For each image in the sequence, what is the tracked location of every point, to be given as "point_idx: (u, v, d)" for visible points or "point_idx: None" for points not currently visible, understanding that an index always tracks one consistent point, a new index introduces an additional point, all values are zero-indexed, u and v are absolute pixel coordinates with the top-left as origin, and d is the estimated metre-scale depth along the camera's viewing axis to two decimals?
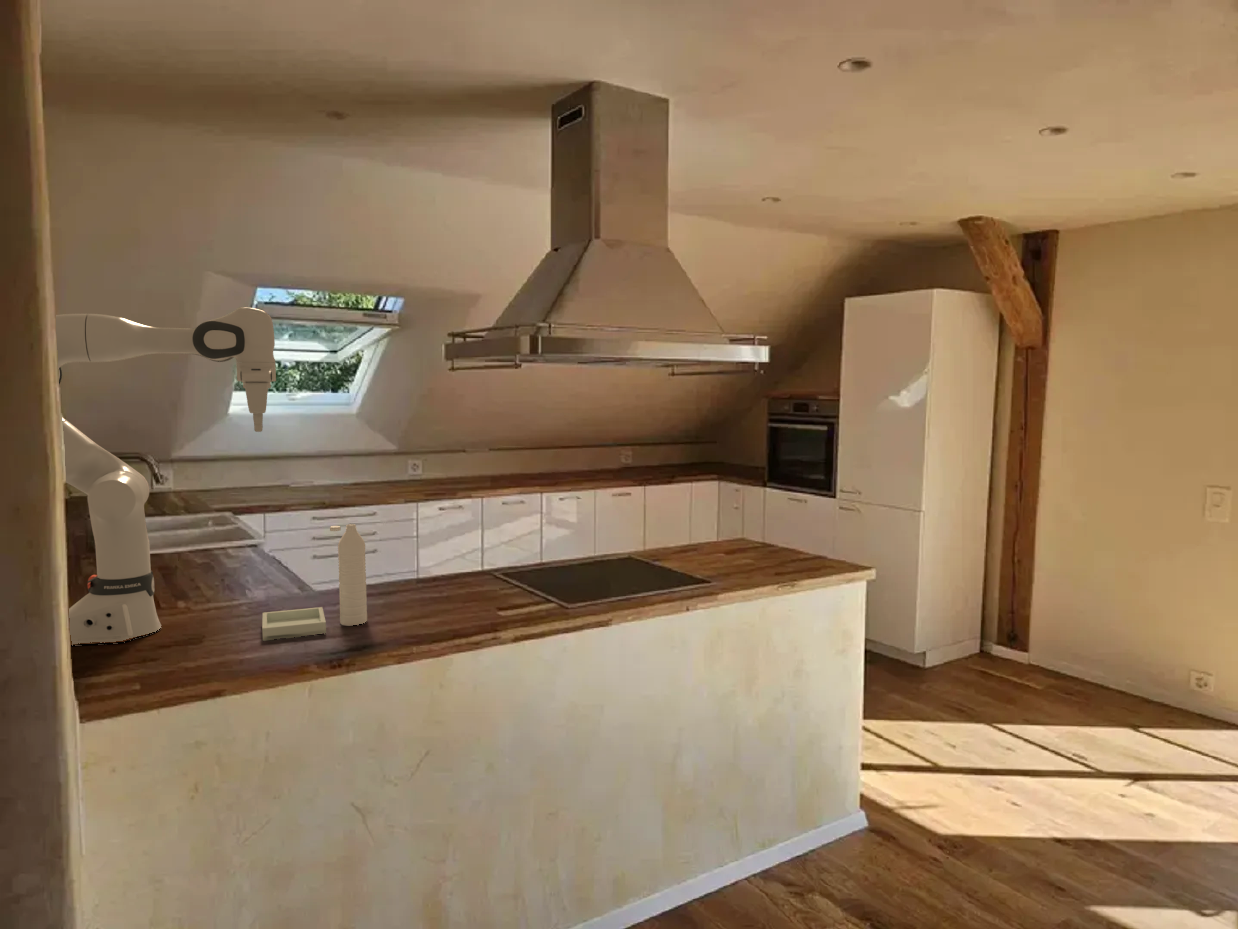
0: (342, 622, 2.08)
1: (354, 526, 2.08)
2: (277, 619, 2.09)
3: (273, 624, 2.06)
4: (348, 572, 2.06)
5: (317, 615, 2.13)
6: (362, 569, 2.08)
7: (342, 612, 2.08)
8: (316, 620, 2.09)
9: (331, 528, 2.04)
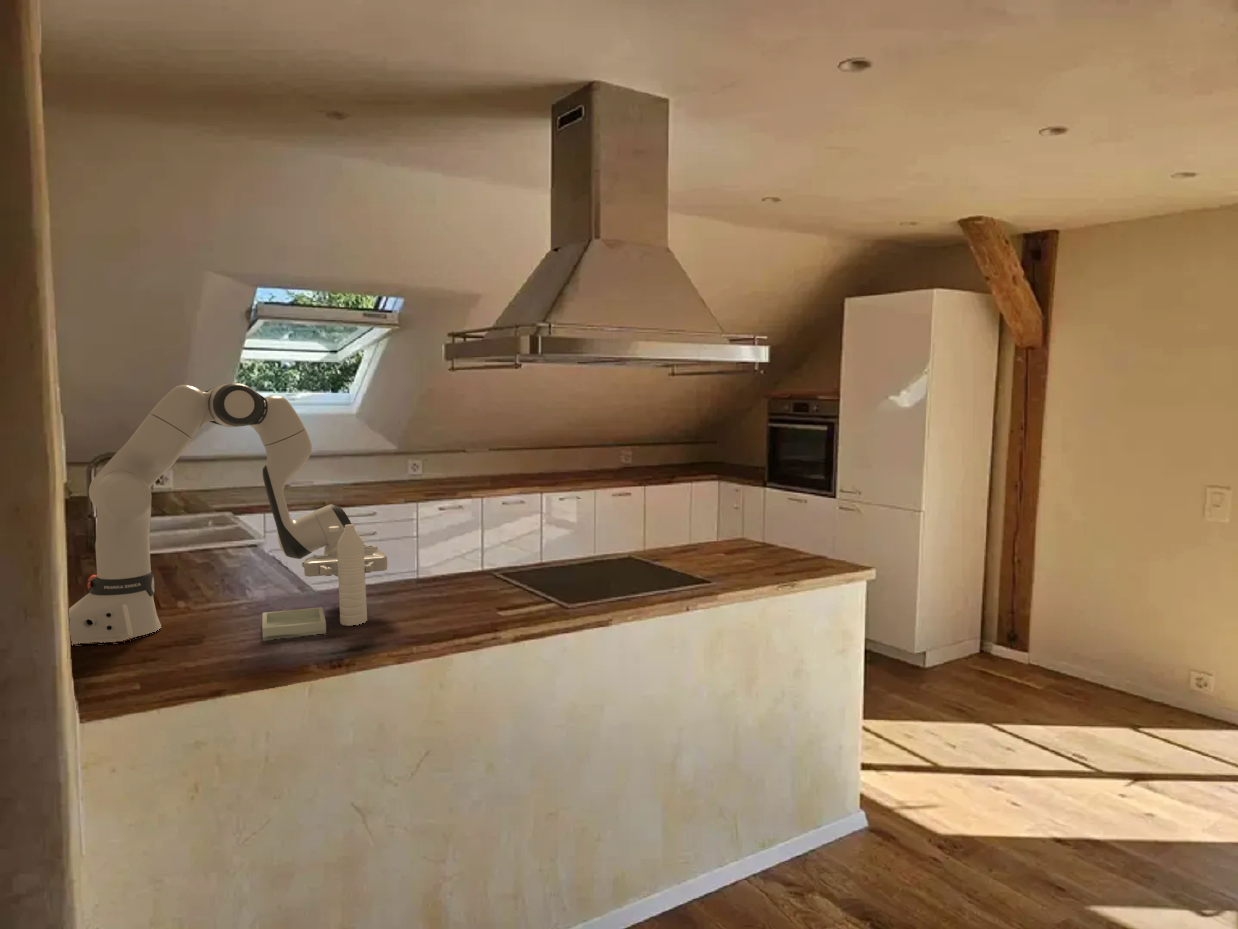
0: (342, 622, 2.08)
1: (353, 526, 2.07)
2: (277, 619, 2.09)
3: (273, 624, 2.06)
4: (347, 572, 2.06)
5: (317, 615, 2.13)
6: (361, 569, 2.08)
7: (342, 612, 2.08)
8: (316, 620, 2.09)
9: (330, 528, 2.04)
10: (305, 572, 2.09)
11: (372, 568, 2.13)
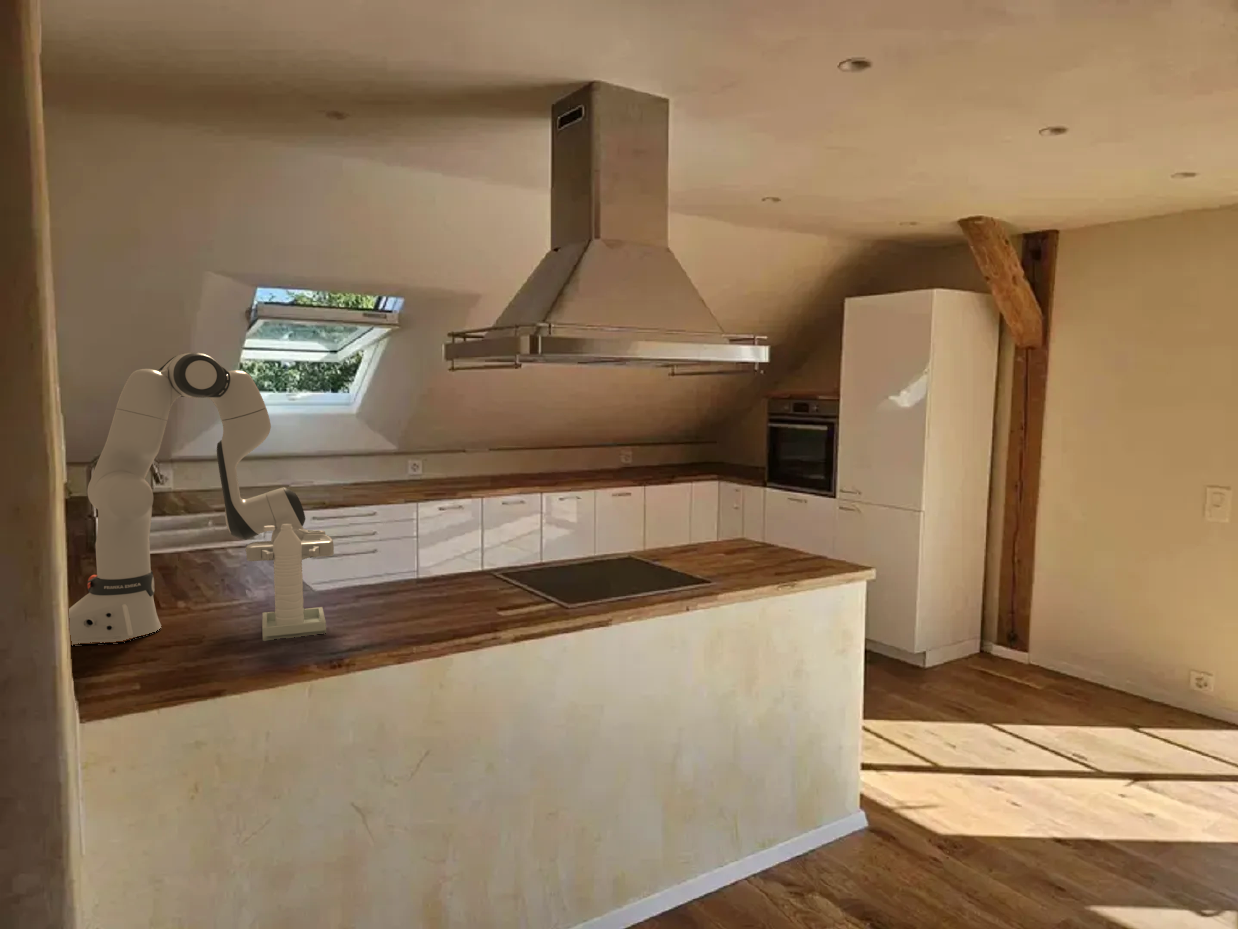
0: (277, 624, 2.03)
1: (289, 526, 2.02)
2: None
3: (273, 624, 2.06)
4: (283, 573, 2.01)
5: (317, 615, 2.13)
6: (298, 570, 2.02)
7: (277, 615, 2.02)
8: (316, 620, 2.09)
9: (265, 528, 1.98)
10: (247, 557, 2.03)
11: (317, 553, 2.07)
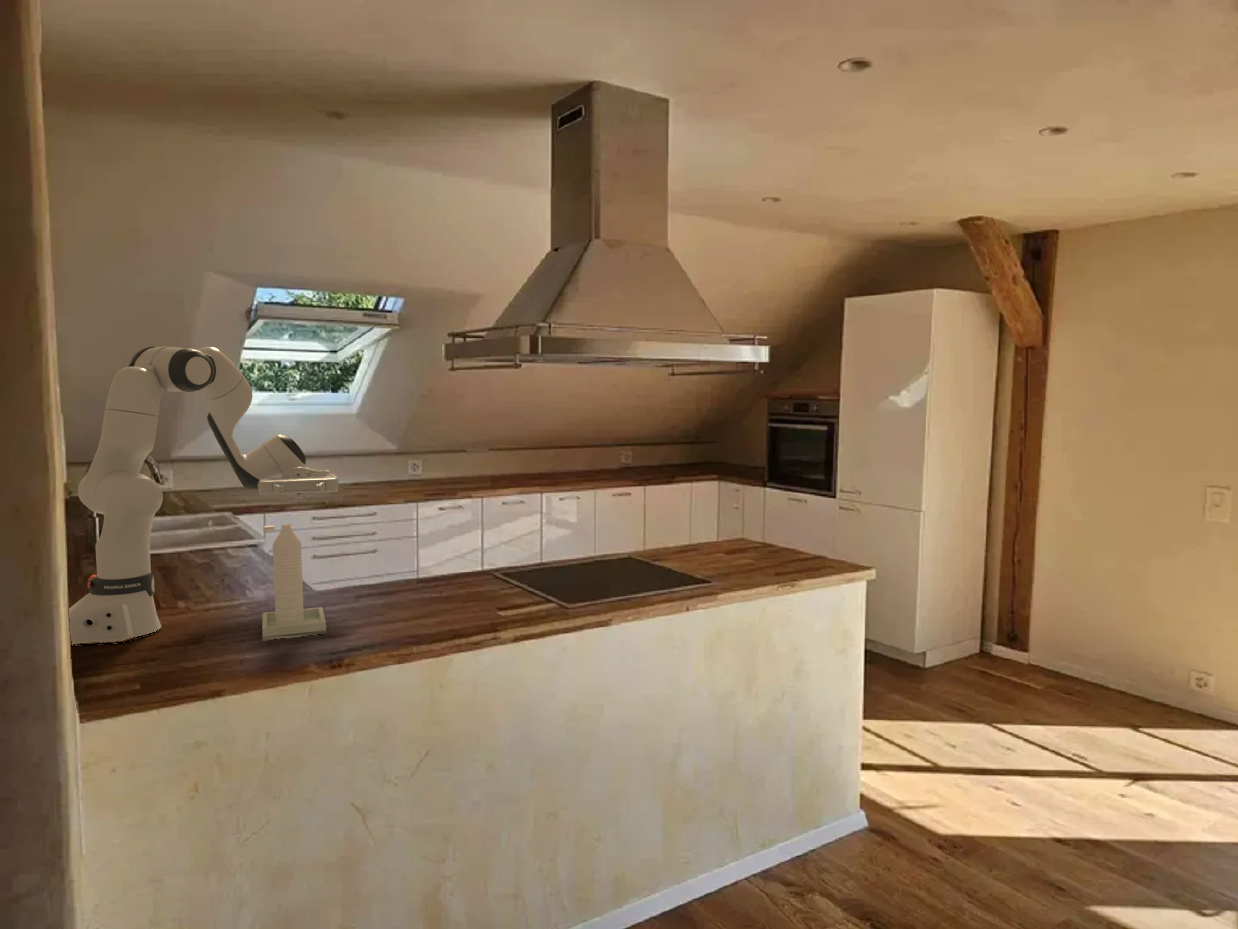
0: (277, 624, 2.03)
1: (289, 526, 2.02)
2: None
3: (273, 624, 2.06)
4: (283, 573, 2.01)
5: (317, 615, 2.13)
6: (298, 570, 2.02)
7: (277, 615, 2.02)
8: (316, 620, 2.09)
9: (264, 528, 1.98)
10: (259, 490, 2.22)
11: (323, 488, 2.25)
